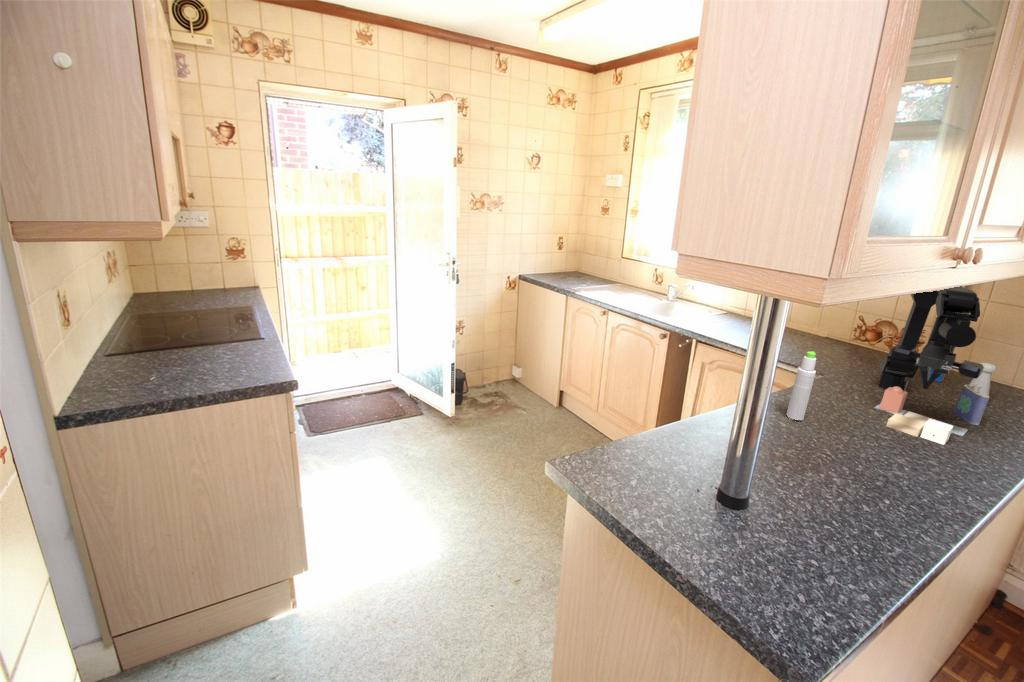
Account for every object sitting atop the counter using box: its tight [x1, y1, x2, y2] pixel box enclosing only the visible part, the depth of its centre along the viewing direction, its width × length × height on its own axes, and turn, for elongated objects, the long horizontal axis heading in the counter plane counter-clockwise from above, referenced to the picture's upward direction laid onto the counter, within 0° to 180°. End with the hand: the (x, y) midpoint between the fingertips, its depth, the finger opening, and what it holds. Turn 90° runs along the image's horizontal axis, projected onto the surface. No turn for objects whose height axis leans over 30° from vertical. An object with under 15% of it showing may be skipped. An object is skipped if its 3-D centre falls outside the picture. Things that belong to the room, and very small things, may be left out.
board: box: [873, 402, 968, 437], centre depth 141 cm, size 21×9×1 cm, turn 38°
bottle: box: [785, 351, 817, 421], centre depth 134 cm, size 4×4×20 cm
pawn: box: [880, 386, 909, 413], centre depth 144 cm, size 4×4×7 cm
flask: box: [952, 383, 991, 426], centre depth 141 cm, size 10×3×12 cm, turn 164°
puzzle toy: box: [920, 368, 946, 383], centre depth 176 cm, size 6×6×6 cm
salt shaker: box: [968, 362, 997, 397], centre depth 156 cm, size 6×6×13 cm
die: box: [919, 418, 953, 446], centre depth 128 cm, size 5×5×5 cm
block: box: [886, 413, 926, 437], centre depth 133 cm, size 7×7×3 cm
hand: (925, 389), depth 134 cm, fingers closed
